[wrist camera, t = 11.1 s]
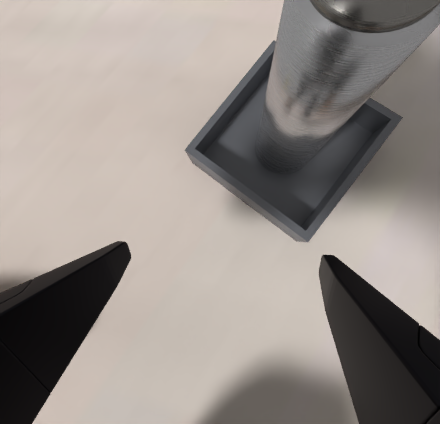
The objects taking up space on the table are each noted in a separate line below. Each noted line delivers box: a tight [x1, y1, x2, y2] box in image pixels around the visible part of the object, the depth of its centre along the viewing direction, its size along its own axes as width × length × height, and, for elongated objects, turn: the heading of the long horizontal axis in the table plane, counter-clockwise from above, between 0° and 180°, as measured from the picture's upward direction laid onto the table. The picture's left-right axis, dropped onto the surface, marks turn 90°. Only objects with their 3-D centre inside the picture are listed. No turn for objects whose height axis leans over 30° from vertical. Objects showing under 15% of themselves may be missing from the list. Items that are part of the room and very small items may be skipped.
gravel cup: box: [256, 0, 440, 174], centre depth 12 cm, size 5×5×13 cm
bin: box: [185, 41, 403, 242], centre depth 18 cm, size 12×12×3 cm
